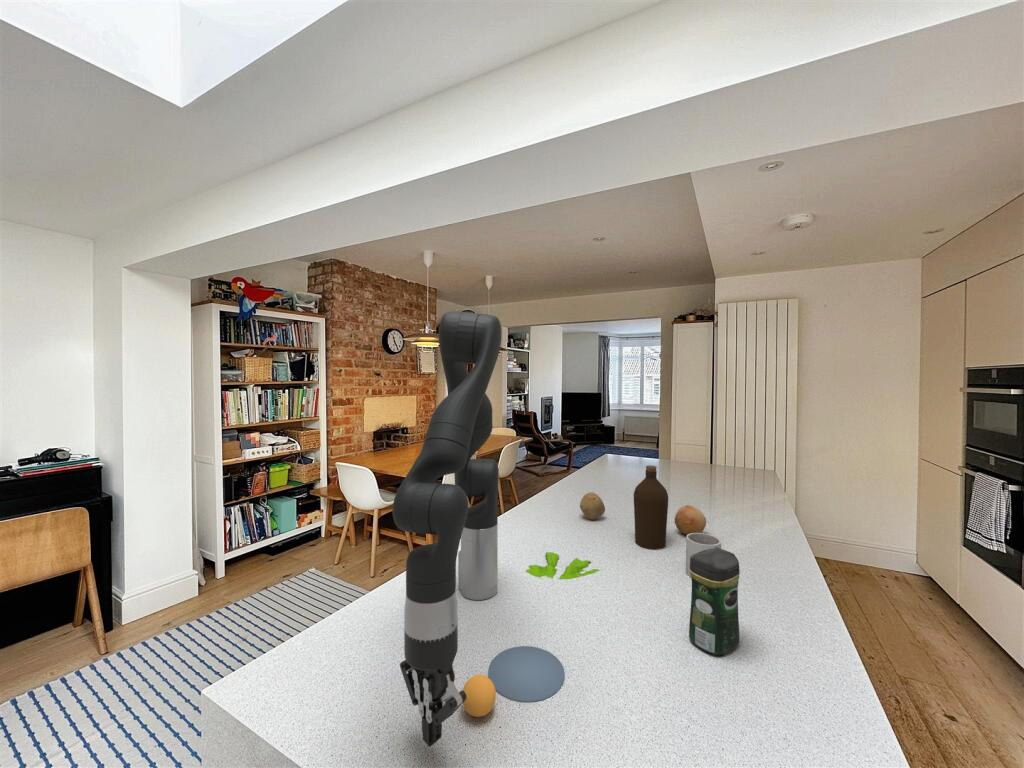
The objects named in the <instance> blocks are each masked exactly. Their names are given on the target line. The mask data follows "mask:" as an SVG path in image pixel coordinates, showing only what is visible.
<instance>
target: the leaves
mask: <svg viewBox="0 0 1024 768" xmlns="http://www.w3.org/2000/svg"><path fill="white" fill-rule="evenodd" d="M545 558H546V560H547V565H545V566H541V565H538V564H530V565H528V568H529V569H525V572H526V573H528V574H529V575H531V576H534V577H536V578H538V579H540V580H543V577H546V578H550V579H551V580H553V579H554V576H555V575H556V574H557V571H558V569H557V568H556V567H557V566H558V561H559V560H560V554H557V553H554V552H551V551H549V552H548V551H545ZM589 564H592V561H590V560H587V559H586V560H580V559H579V558H578V557H575V558H574V559H573V560H572V561H571V562H570V564H569V565H566V566H565V569H564V572H563V573H562V574H560V576H559V577H558V580H573V579H577V578H581V577H584V576H588V575H591V574H594V573H595V574H596V573H597V572H600V571H601V569H600V570H599V569H598V568H593V569H591V570H585V569H587V568H588V567H589V566H590V565H589ZM582 572H583V573H582Z"/></svg>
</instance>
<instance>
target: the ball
mask: <svg viewBox="0 0 1024 768" xmlns="http://www.w3.org/2000/svg"><path fill="white" fill-rule="evenodd" d="M462 690H463V691H464V692H465V693H466V697H467V698H466V700H465V701H464V702H463V703H462V705H463V707H464V710H465V711H466V713H467V714H469V715H470V716H472V717H475V718H480V717H484V716H486V715H487V714H488V713H489V712H490V711H491V710H492V709H493V708H494V705H495V703H496V697H497V693H496V692H497V691H496V690H495V687H494V684H493V682H492V681H491V680H490V679H489V678H488V676H487V675H485V674H474V675H473V676H471V677H469V679H467V680H466V682H465V684H464V685H463V688H462Z"/></svg>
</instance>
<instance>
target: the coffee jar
mask: <svg viewBox="0 0 1024 768" xmlns="http://www.w3.org/2000/svg"><path fill="white" fill-rule="evenodd" d="M689 570H690V575H691V578H690V579H691V595H690V598H691V600H690V613H689V622H688V623H689V624H688V625H689V626H688V627H689V628H688V629H689V630H688V638H689V639H690V641H691V642H692V644H693V645H695V646H696V647H698V649H699V650H701V651H703V652H706V653H708V654H711V655H712V654H713V655H716V656H722V655H726V654H728V653H730V652H732V651H733V650H734V649H735V648H737V646H738V645H739V643H740V623H739V622H740V621H739V600H738V599H739V589H738V588H739V582H740V581H739V580H740V573H741V572H740V563H739V560H738V558H737V556H736V555H735V554H734V553H733V552H731V551H728V550H725V549H723V548H721V549H720V548H717V547H715V548H713V549H707V550H704V551H701V552H698V553H696V554H694V555H692V556H691V557H690V569H689Z"/></svg>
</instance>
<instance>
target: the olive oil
mask: <svg viewBox="0 0 1024 768" xmlns="http://www.w3.org/2000/svg"><path fill="white" fill-rule="evenodd" d="M657 473H658V472H657V466H655V465H645V477H644V478H643V479H642V480H641V481H640V483H638V484H637V485H636V487H635V489H634V491H633V508H634V509H633V513H634V514H633V517H634V542H635V544H636V545H637V546H639V547H641V548H643V549H647V550H662V549H664V548H665V547H666V546H667V524H668V512H669V511H668V509H669V494H668V491H667V488H666V487H665V486H664V485H663V484H662V483H661V482H660V481H659V479H658V478H657Z"/></svg>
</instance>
